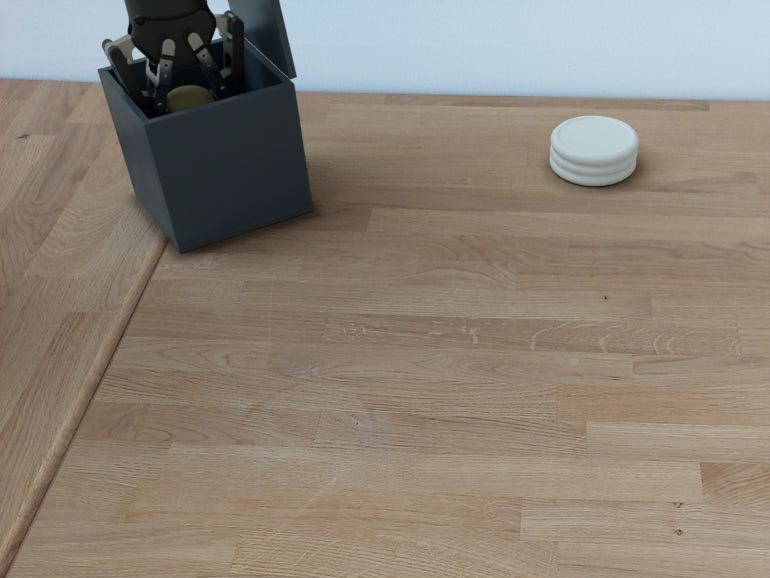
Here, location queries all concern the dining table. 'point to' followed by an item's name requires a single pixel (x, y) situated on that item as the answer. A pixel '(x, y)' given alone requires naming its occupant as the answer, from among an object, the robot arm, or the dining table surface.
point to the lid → (266, 31)
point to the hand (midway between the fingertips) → (197, 136)
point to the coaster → (593, 150)
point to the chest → (215, 153)
